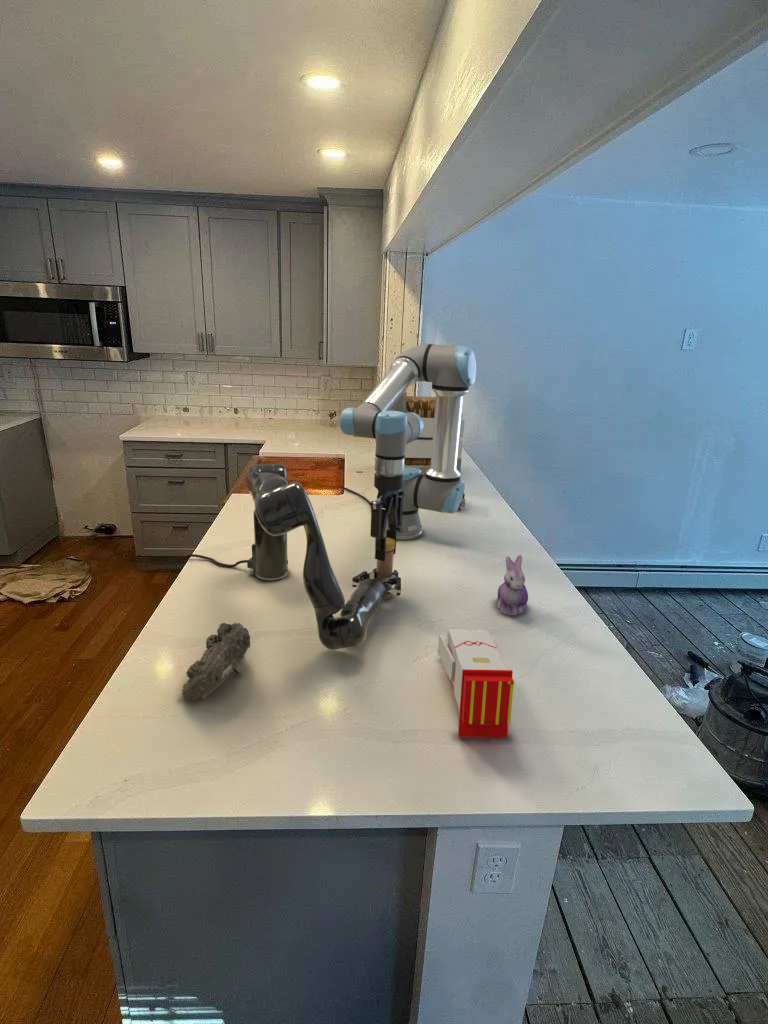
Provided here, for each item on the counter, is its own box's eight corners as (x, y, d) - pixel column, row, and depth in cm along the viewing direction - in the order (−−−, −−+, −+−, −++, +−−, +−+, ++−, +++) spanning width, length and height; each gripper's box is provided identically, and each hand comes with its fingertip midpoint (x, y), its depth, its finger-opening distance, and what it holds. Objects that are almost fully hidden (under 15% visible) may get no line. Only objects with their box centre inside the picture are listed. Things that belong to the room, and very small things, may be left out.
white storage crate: (382, 463, 289) (386, 382, 275) (445, 464, 293) (451, 384, 279) (390, 482, 257) (394, 392, 243) (460, 483, 261) (468, 394, 247)
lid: (398, 547, 152) (399, 541, 151) (386, 552, 148) (386, 546, 148) (384, 542, 155) (385, 535, 154) (372, 547, 151) (372, 540, 151)
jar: (372, 596, 156) (374, 544, 151) (380, 590, 159) (382, 539, 154) (386, 600, 154) (388, 548, 149) (394, 594, 157) (396, 543, 152)
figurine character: (465, 515, 224) (460, 499, 237) (467, 498, 221) (462, 483, 234) (448, 515, 224) (444, 499, 237) (450, 498, 220) (445, 482, 234)
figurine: (510, 620, 147) (517, 567, 142) (486, 602, 155) (492, 552, 150) (538, 612, 151) (545, 561, 146) (513, 595, 159) (519, 546, 154)
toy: (488, 613, 130) (523, 677, 101) (484, 667, 133) (517, 744, 104) (435, 612, 130) (455, 676, 101) (432, 666, 133) (451, 743, 103)
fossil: (203, 625, 130) (250, 595, 125) (232, 653, 133) (279, 625, 128) (160, 694, 111) (214, 662, 106) (195, 725, 113) (249, 695, 108)
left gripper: (394, 591, 138) (412, 563, 154) (340, 580, 142) (363, 555, 158) (393, 617, 141) (411, 588, 156) (340, 607, 145) (362, 579, 160)
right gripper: (394, 463, 154) (390, 542, 162) (357, 477, 139) (355, 563, 147) (418, 468, 150) (413, 548, 158) (383, 483, 136) (379, 571, 144)
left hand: (387, 571), depth 157 cm, fingers closed on jar, 4 cm apart
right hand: (385, 556), depth 153 cm, fingers closed on lid, 5 cm apart
